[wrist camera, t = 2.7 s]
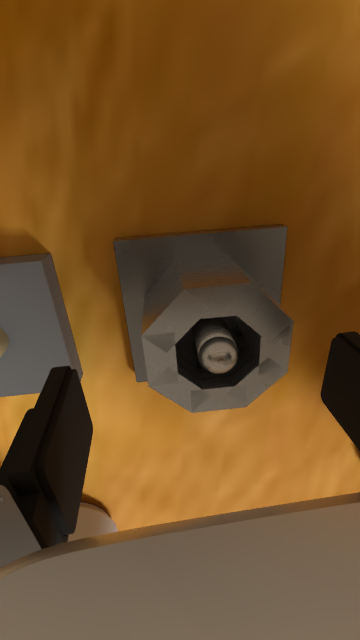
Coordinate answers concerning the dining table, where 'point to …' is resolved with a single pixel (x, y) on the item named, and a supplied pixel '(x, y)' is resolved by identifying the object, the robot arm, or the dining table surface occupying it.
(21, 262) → the square base with peg
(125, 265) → the stand
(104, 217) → the dining table surface
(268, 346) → the collar
